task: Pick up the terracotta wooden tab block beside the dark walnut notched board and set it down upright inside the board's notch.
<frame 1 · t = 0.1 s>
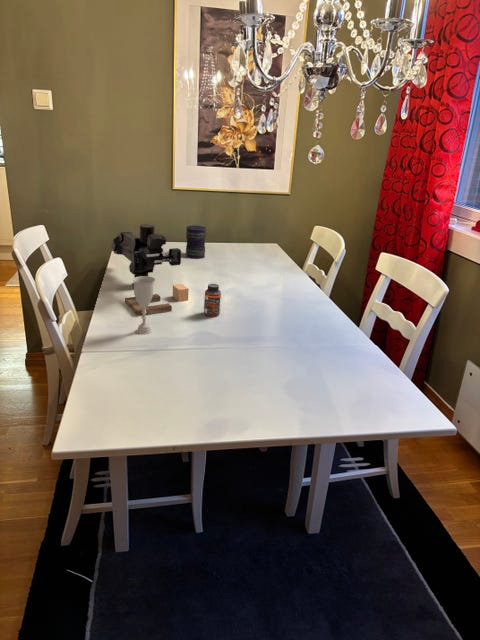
hand: (165, 264, 177), 17 cm above the table, tool horizontal, fingers open, 9 cm apart
notched board: (153, 306, 183), on the table
supplement bottle: (211, 314, 180), on the table
chalice: (144, 331, 162), on the table
tab block: (180, 298, 193), on the table
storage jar: (195, 256, 251), on the table
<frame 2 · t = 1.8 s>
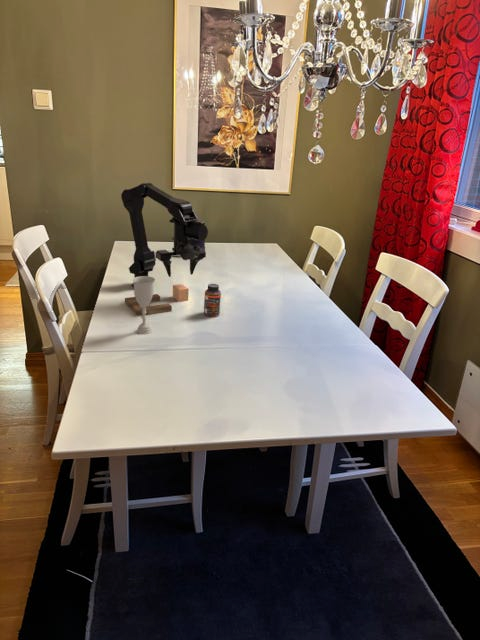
hand: (180, 275, 189), 9 cm above the table, tool pointing down, fingers open, 9 cm apart
nothing on the table moved.
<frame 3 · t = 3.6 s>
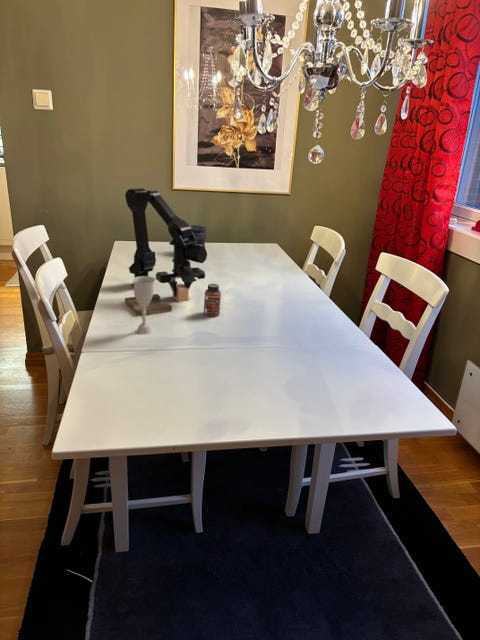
hand: (180, 296, 193), 1 cm above the table, tool pointing down, fingers closed on tab block, 4 cm apart
tab block: (180, 298, 193), on the table, touching gripper
everything else where it was.
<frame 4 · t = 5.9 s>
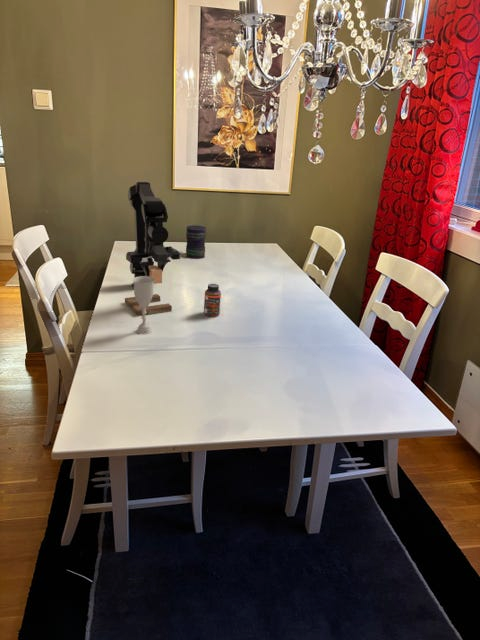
hand: (153, 278, 179), 11 cm above the table, tool pointing down, fingers closed on tab block, 4 cm apart
tab block: (153, 281, 180), point 10 cm above the table, touching gripper
everything else where it was.
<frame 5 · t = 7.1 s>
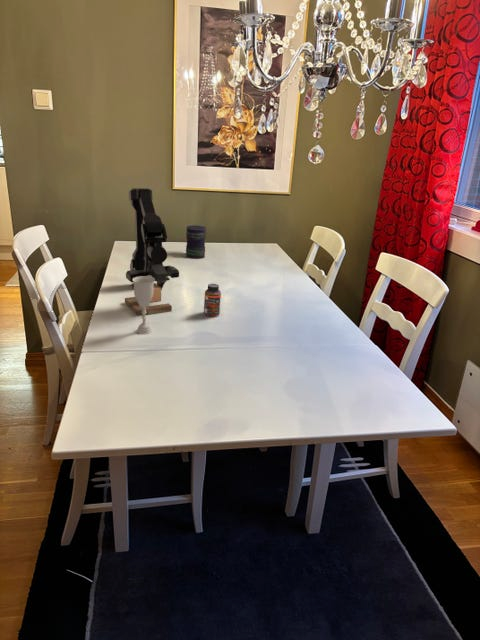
hand: (153, 296, 182), 4 cm above the table, tool pointing down, fingers closed on tab block, 4 cm apart
tab block: (153, 298, 182), point 3 cm above the table, touching gripper
everything else where it was.
when the fingers open (3 cm above the table, at t = 8.1 s): tab block drops 2 cm, on the table.
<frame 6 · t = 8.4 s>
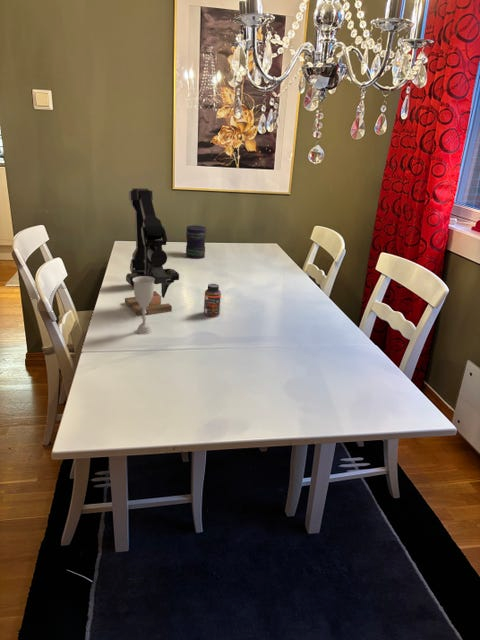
hand: (153, 298, 182), 3 cm above the table, tool pointing down, fingers open, 8 cm apart
tab block: (152, 306, 183), on the table
everything else where it was.
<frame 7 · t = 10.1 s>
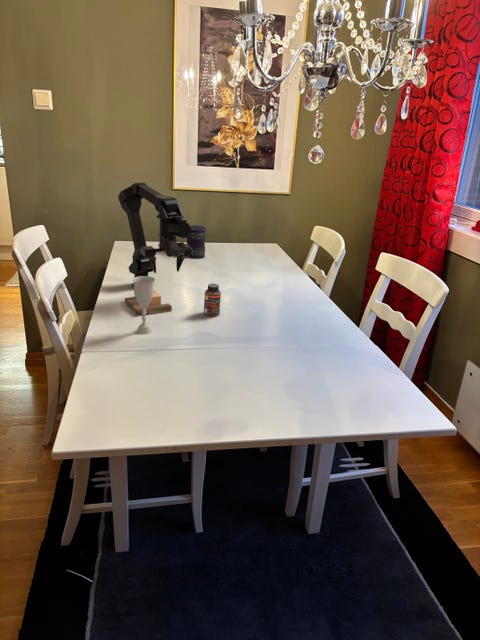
hand: (166, 272, 188), 11 cm above the table, tool pointing down, fingers open, 9 cm apart
nothing on the table moved.
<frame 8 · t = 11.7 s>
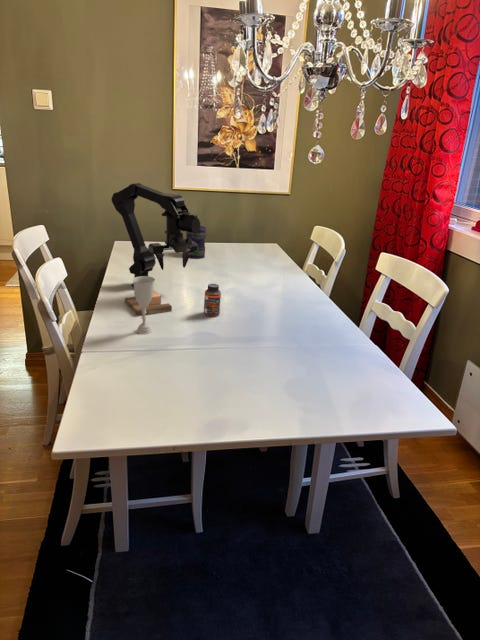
hand: (173, 268, 192), 11 cm above the table, tool pointing down, fingers open, 9 cm apart
nothing on the table moved.
at the end: tab block 0.1 cm off-centre on the notched board, point 0.0 cm above the notched board's base; tab block tilted 0°; the gripper is holding nothing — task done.
